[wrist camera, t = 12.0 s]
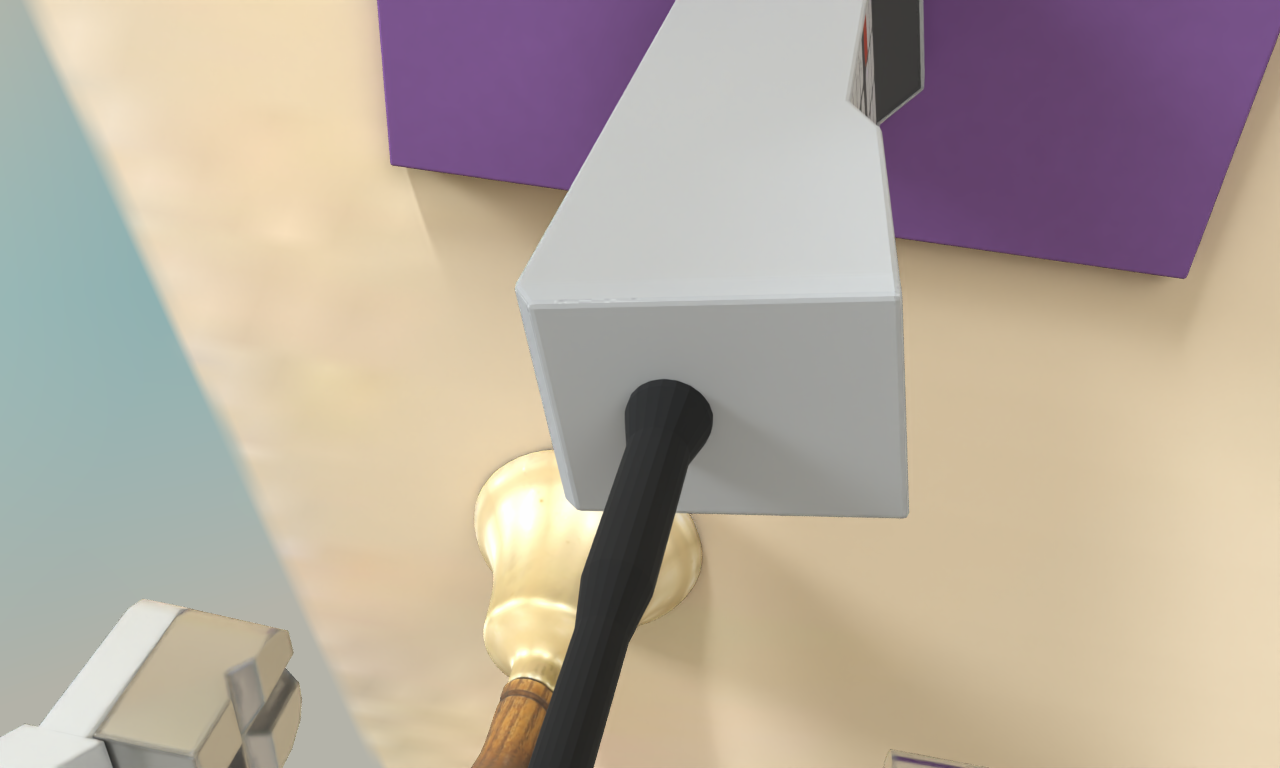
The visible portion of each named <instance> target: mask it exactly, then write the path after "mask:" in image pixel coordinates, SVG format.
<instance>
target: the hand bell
mask: <svg viewBox="0 0 1280 768" xmlns="http://www.w3.org/2000/svg"><path fill="white" fill-rule="evenodd" d="M602 514H603V511H580V510H577V509H576V508H575V507H574V506H573V505H571V504H570V503H569V502H568V500H567V499H566V498H565V494H564V490H563V486H562V482H561V478H560V473H559V469H558V465H557V461H556V457H555V453H554V450H545V451H539V452H534V453H530V454H528V455H524V456H520V457H518V458H516V459H514V460H512V461H510V462H508V463H507V464H505V465H504V466H502V467H501V468H499V469H498V470H497V471H496V472H494V473H493V474H492V476H491V477H490V478H489V479H488V480H487V482H486V483H485V484H484V486H483V488H482V489H481V491H480V493H479V495H478V498H477V501H476V505H475V510H474V525H475V533H476V537H477V542H478V545H479V548H480V551H481V554H482V556H483V558H484V560H485V561H486V563H487V565H488V567H489V568H490V570H491V571H492V572H493V588H492V595H491V599H490V604H489V609H488V612H487V616H486V620H485V624H484V630H483V637H484V642H485V647H486V649H487V652H488V654H489V655H490V657H491V659H492V660H493V662H494V663H495V664H496V666H497V667H498V668H499V669H500V670H501V671H502V672H503V673H504V674H506V675H507V676H508V677H509V680H508V683H507V684H506V685H505V687H504V688H503V691H502V694H501V698H500V702H499V704H498V706H497V709H496V711H495V714H494V717H493V720H492V723H491V727H490V730H489V733H488V735H487V738H486V741H485V744H484V746H483V749H482V751H481V753H480V755H479V756H478V758H477V759H476V761H475V763H474V764H473V766H472V767H471V768H528V765H529V762H530V759H531V756H532V753H533V750H534V747H535V744H536V741H537V738H538V735H539V732H540V729H541V727H542V724H543V721H544V718H545V715H546V712H547V709H548V706H549V703H550V700H551V697H552V694H553V691H554V688H555V685H556V682H557V679H558V676H559V673H560V670H561V667H562V664H563V661H564V658H565V655H566V652H567V649H568V646H569V643H570V640H571V637H572V634H573V631H574V628H575V620H576V612H577V604H578V596H579V588H580V580H581V575H582V572H583V569H584V566H585V563H586V560H587V557H588V554H589V552H590V549H591V546H592V543H593V540H594V537H595V534H596V531H597V528H598V526H599V523H600V520H601V517H602ZM701 563H702V548H701V542H700V538H699V535H698V533H697V530H696V528H695V525H694V522H693V520H692V518H691V517H690V515H689V513H675V517H674V521H673V524H672V528H671V532H670V535H669V539H668V543H667V546H666V550H665V554H664V557H663V561H662V565H661V568H660V572H659V575H658V579H657V583H656V586H655V590H654V594H653V597H652V599H651V601H650V603H649V605H648V606H647V608H646V610H645V612H644V614H643V616H642V618H641V620H640V622H639V624H638V626H639V625H642V624H645V623H648V622H651V621H653V620H656V619H658V618H659V617H661V616H663V615H665V614H667V613H668V612H670V611H671V610H672V609H673V608H675V607H676V606H677V605H678V604H679V603H680V602H681V601H682V600H684V599H685V598H686V596H687V595H688V594H689V592H690V591H691V590H692V588H693V587H694V585H695V583H696V581H697V578H698V576H699V573H700V569H701Z"/></svg>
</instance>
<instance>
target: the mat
mask: <svg viewBox="0 0 1280 768" xmlns="http://www.w3.org/2000/svg"><path fill="white" fill-rule="evenodd" d="M675 1H676V0H377V4H378V17H379V29H380V41H381V53H382V65H383V78H384V90H385V102H386V114H387V126H388V138H389V151H390V163H391V165H393V166H400V167H407V168H414V169H421V170H428V171H435V172H442V173H449V174H456V175H463V176H470V177H477V178H484V179H491V180H498V181H505V182H512V183H519V184H526V185H533V186H540V187H547V188H554V189H561V190H568V191H569V189H570V187H571V185H572V183H573V182H574V180H575V178H576V176H577V175H578V173H579V171H580V169H581V167H582V166H583V164H584V162H585V160H586V159H587V157H588V155H589V153H590V152H591V150H592V148H593V146H594V144H595V143H596V141H597V139H598V137H599V136H600V134H601V132H602V130H603V128H604V127H605V125H606V123H607V121H608V120H609V118H610V116H611V114H612V112H613V111H614V109H615V107H616V105H617V104H618V102H619V100H620V98H621V97H622V95H623V93H624V91H625V89H626V88H627V86H628V84H629V82H630V81H631V79H632V77H633V75H634V73H635V72H636V70H637V68H638V66H639V65H640V63H641V61H642V59H643V57H644V56H645V54H646V52H647V50H648V49H649V47H650V45H651V43H652V42H653V40H654V38H655V36H656V34H657V33H658V31H659V29H660V27H661V26H662V24H663V22H664V20H665V18H666V17H667V15H668V13H669V11H670V10H671V8H672V6H673V4H674V2H675ZM923 9H924V66H925V77H924V89H923V91H921V92H920V93H919V94H918V95H916V96H915V97H914V98H913V99H911V100H910V101H909V102H908V103H906V104H905V105H904V106H903V107H901V108H900V109H899V110H898V111H896V112H895V113H894V114H893V115H891V116H890V117H889V118H888V119H886V120H885V121H884V122H883V123H881V124H880V129H881V131H882V136H883V144H884V153H885V161H886V169H887V177H888V185H889V193H890V202H891V210H892V218H893V226H894V234H895V238H902V239H909V240H916V241H923V242H930V243H937V244H944V245H951V246H958V247H965V248H972V249H979V250H986V251H993V252H1000V253H1007V254H1014V255H1021V256H1028V257H1035V258H1042V259H1049V260H1056V261H1063V262H1070V263H1077V264H1083V265H1090V266H1097V267H1104V268H1111V269H1118V270H1125V271H1132V272H1139V273H1146V274H1153V275H1160V276H1167V277H1174V278H1181V279H1185V278H1186V277H1187V275H1188V272H1189V270H1190V267H1191V265H1192V262H1193V259H1194V257H1195V254H1196V251H1197V249H1198V246H1199V244H1200V241H1201V238H1202V236H1203V233H1204V230H1205V228H1206V225H1207V222H1208V220H1209V217H1210V215H1211V212H1212V209H1213V207H1214V204H1215V201H1216V199H1217V196H1218V193H1219V191H1220V188H1221V186H1222V183H1223V180H1224V178H1225V175H1226V172H1227V170H1228V167H1229V164H1230V162H1231V159H1232V157H1233V154H1234V151H1235V149H1236V146H1237V143H1238V141H1239V138H1240V135H1241V133H1242V130H1243V128H1244V125H1245V122H1246V120H1247V117H1248V114H1249V112H1250V109H1251V106H1252V104H1253V101H1254V99H1255V96H1256V93H1257V91H1258V88H1259V85H1260V83H1261V80H1262V77H1263V75H1264V72H1265V70H1266V67H1267V64H1268V62H1269V59H1270V56H1271V54H1272V51H1273V48H1274V46H1275V43H1276V41H1277V38H1278V35H1279V33H1280V0H923Z"/></svg>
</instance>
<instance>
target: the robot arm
mask: <svg viewBox="0 0 1280 768" xmlns="http://www.w3.org/2000/svg"><path fill="white" fill-rule="evenodd" d="M292 655H293V649H292V645H291V640H290V637H289V632H288V631H287V630H283V629H278V628H273V627H269V626H265V625H261V624H256V623H251V622H247V621H243V620H238V619H234V618H229V617H225V616H221V615H216V614H212V613H207V612H203V611H198V610H194V609H190V608H186V607H181V606H176V605H171V604H166V603H161V602H157V601H152V600H147V599H142V600H140V601H139V602H137V603H136V604H134V605H133V606H131V607H130V608H129V609H127V610H126V611H125V613H124V614H123V615H122V616H121V618H120V619H119V620H118V622H117V623H116V624H115V626H114V627H113V628H112V630H111V631H110V632H109V634H108V635H107V636H106V638H105V639H104V640H103V642H102V643H101V644H100V646H99V647H98V648H97V650H96V651H95V652H94V654H93V655H92V656H91V657H90V659H89V660H88V661H87V663H86V664H85V665H84V667H83V668H82V669H81V671H80V672H79V673H78V675H77V676H76V677H75V679H74V680H73V681H72V683H71V684H70V685H69V687H68V688H67V689H66V691H65V692H64V694H62V696H61V697H60V699H59V700H58V701H57V702H56V704H55V705H54V707H53V708H52V709H51V711H50V712H49V713H48V715H47V716H46V717H45V718H44V720H43V721H42V722H41V724H40V725H39V726H35V725H29V724H23V725H22V726H20V727H18V728H16V729H14V730H12V731H10V732H9V733H7V734H5V735H3V736H1V737H0V768H282V767H283V765H284V763H285V761H286V760H287V758H288V756H289V754H290V752H291V750H292V747H293V743H294V740H295V737H296V733H297V730H298V727H299V723H300V719H301V703H302V697H301V691H300V685H299V682H298V681H297V680H296V679H295V678H294V677H293V676H292V675H291V674H290V673H289V671H288V670H287V669H286V668H285V667H286V665H287V664H288V662H289V660H290V658H291V656H292ZM883 768H989V767H983V766H978V765H972V764H967V763H962V762H956V761H951V760H945V759H940V758H935V757H929V756H924V755H919V754H913V753H908V752H902V751H897V750H892V749H890V751H889V752H888V754H887V756H886V759H885V762H884V766H883Z"/></svg>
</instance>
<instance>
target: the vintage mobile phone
mask: <svg viewBox="0 0 1280 768" xmlns="http://www.w3.org/2000/svg"><path fill="white" fill-rule="evenodd" d="M924 77H925V66H924V9H923V0H676V1H675V2H674V4H673V6H672V8H671V10H670V11H669V13H668V15H667V17H666V18H665V20H664V22H663V24H662V26H661V27H660V29H659V31H658V33H657V34H656V36H655V38H654V40H653V42H652V43H651V45H650V47H649V49H648V50H647V52H646V54H645V56H644V57H643V59H642V61H641V63H640V65H639V66H638V68H637V70H636V72H635V73H634V75H633V77H632V79H631V81H630V82H629V84H628V86H627V88H626V89H625V91H624V93H623V95H622V97H621V98H620V100H619V102H618V104H617V105H616V107H615V109H614V111H613V112H612V114H611V116H610V118H609V120H608V121H607V123H606V125H605V127H604V128H603V130H602V132H601V134H600V136H599V137H598V139H597V141H596V143H595V144H594V146H593V148H592V150H591V152H590V153H589V155H588V157H587V159H586V160H585V162H584V164H583V166H582V167H581V169H580V171H579V173H578V175H577V176H576V178H575V180H574V182H573V183H572V185H571V187H570V189H569V191H568V192H567V194H566V196H565V198H564V199H563V201H562V203H561V205H560V206H559V208H558V210H557V212H556V214H555V215H554V217H553V219H552V221H551V222H550V224H549V226H548V228H547V230H546V231H545V233H544V235H543V237H542V238H541V240H540V242H539V244H538V246H537V247H536V249H535V251H534V253H533V254H532V256H531V258H530V260H529V261H528V263H527V265H526V267H525V269H524V270H523V272H522V274H521V276H520V277H519V279H518V281H517V283H516V287H515V292H516V296H517V300H518V304H519V308H520V313H521V317H522V321H523V325H524V329H525V333H526V337H527V341H528V346H529V350H530V354H531V358H532V362H533V366H534V370H535V374H536V379H537V383H538V387H539V391H540V395H541V399H542V403H543V407H544V412H545V416H546V420H547V424H548V428H549V432H550V436H551V440H552V445H553V449H554V453H555V457H556V461H557V465H558V469H559V473H560V478H561V482H562V486H563V490H564V494H565V498H566V499H567V500H568V502H569V503H570V504H571V505H573V506H574V507H575V508H576V509H577V510H580V511H603V514H602V517H601V520H600V523H599V526H598V528H597V531H596V534H595V537H594V540H593V543H592V546H591V549H590V552H589V554H588V557H587V560H586V563H585V566H584V569H583V572H582V575H581V580H580V588H579V596H578V604H577V612H576V620H575V628H574V631H573V634H572V637H571V640H570V643H569V646H568V649H567V652H566V655H565V658H564V661H563V664H562V667H561V670H560V673H559V676H558V679H557V682H556V685H555V688H554V691H553V694H552V697H551V700H550V703H549V706H548V709H547V712H546V715H545V718H544V721H543V724H542V727H541V729H540V732H539V735H538V738H537V741H536V744H535V747H534V750H533V753H532V756H531V759H530V762H529V765H528V768H593V767H594V764H595V760H596V757H597V753H598V749H599V746H600V742H601V739H602V735H603V732H604V728H605V725H606V721H607V718H608V714H609V711H610V707H611V704H612V700H613V697H614V693H615V689H616V686H617V682H618V679H619V675H620V672H621V668H622V665H623V661H624V658H625V654H626V651H627V647H628V644H629V641H630V639H631V638H632V636H633V634H634V632H635V630H636V628H637V626H638V624H639V622H640V620H641V618H642V616H643V614H644V612H645V610H646V608H647V606H648V605H649V603H650V601H651V599H652V597H653V594H654V590H655V586H656V583H657V579H658V575H659V572H660V568H661V565H662V561H663V557H664V554H665V550H666V546H667V543H668V539H669V535H670V532H671V528H672V524H673V521H674V517H675V513H694V514H737V515H780V516H823V517H866V518H906V517H907V516H908V514H909V494H908V462H907V431H906V399H905V368H904V337H903V305H902V291H901V283H900V275H899V267H898V259H897V251H896V242H895V234H894V226H893V218H892V210H891V202H890V193H889V185H888V177H887V169H886V161H885V153H884V144H883V136H882V131H881V129H880V124H881V123H883V122H884V121H885V120H886V119H888V118H889V117H890V116H891V115H893V114H894V113H895V112H896V111H898V110H899V109H900V108H901V107H903V106H904V105H905V104H906V103H908V102H909V101H910V100H911V99H913V98H914V97H915V96H916V95H918V94H919V93H920V92H921V91H923V89H924Z"/></svg>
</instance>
